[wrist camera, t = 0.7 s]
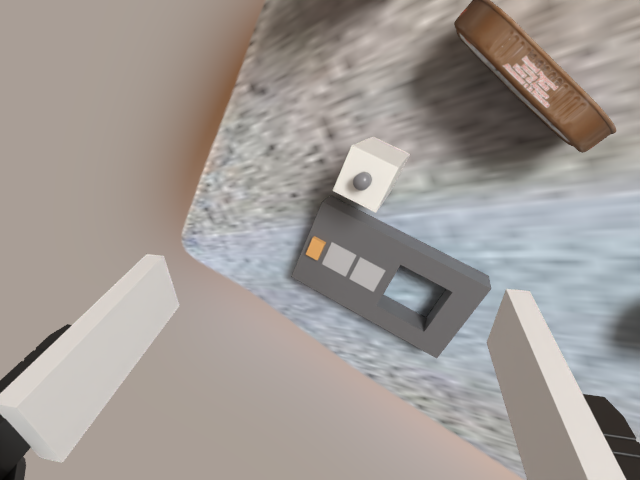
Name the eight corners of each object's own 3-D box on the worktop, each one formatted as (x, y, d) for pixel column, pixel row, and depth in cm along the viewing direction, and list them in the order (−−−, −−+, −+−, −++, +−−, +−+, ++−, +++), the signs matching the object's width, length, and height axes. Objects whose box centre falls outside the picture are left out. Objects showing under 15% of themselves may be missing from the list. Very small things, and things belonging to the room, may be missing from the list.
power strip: (488, 275, 38) (491, 291, 35) (437, 342, 43) (436, 361, 40) (330, 195, 41) (320, 203, 38) (300, 266, 46) (289, 278, 43)
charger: (410, 153, 36) (396, 169, 27) (391, 190, 38) (373, 216, 29) (373, 136, 37) (348, 146, 28) (356, 173, 39) (328, 193, 30)
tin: (596, 125, 30) (643, 132, 23) (562, 152, 32) (595, 166, 24) (476, 5, 30) (483, -27, 23) (447, 37, 32) (446, 17, 24)
